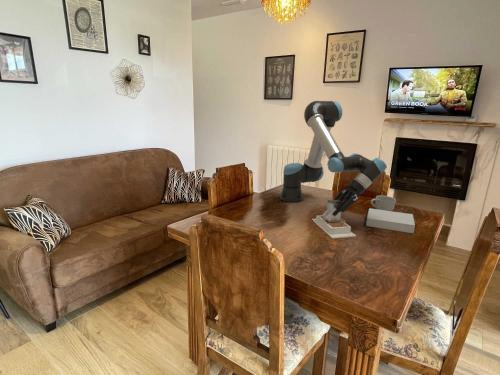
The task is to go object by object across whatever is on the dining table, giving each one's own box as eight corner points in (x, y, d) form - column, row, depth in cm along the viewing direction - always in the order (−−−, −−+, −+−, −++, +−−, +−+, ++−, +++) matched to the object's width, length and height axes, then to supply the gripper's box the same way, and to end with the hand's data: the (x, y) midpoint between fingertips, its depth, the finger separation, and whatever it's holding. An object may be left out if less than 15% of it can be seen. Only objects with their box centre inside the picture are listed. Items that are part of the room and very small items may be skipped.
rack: (332, 238, 136) (333, 230, 135) (311, 219, 159) (312, 212, 158) (355, 236, 139) (356, 228, 138) (332, 218, 161) (332, 211, 160)
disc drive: (366, 215, 167) (367, 207, 166) (411, 222, 158) (412, 213, 157) (364, 226, 152) (365, 217, 151) (413, 234, 143) (415, 225, 142)
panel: (328, 225, 146) (330, 202, 143) (325, 222, 149) (327, 200, 146) (339, 224, 148) (341, 201, 144) (336, 222, 150) (338, 199, 147)
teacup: (390, 208, 179) (392, 195, 177) (397, 214, 168) (399, 201, 166) (366, 207, 180) (368, 194, 178) (371, 213, 170) (373, 200, 168)
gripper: (373, 193, 139) (338, 228, 140) (355, 185, 154) (323, 216, 156) (364, 183, 137) (328, 219, 138) (346, 175, 152) (314, 208, 153)
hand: (326, 217), depth 147 cm, fingers closed on panel, 3 cm apart
